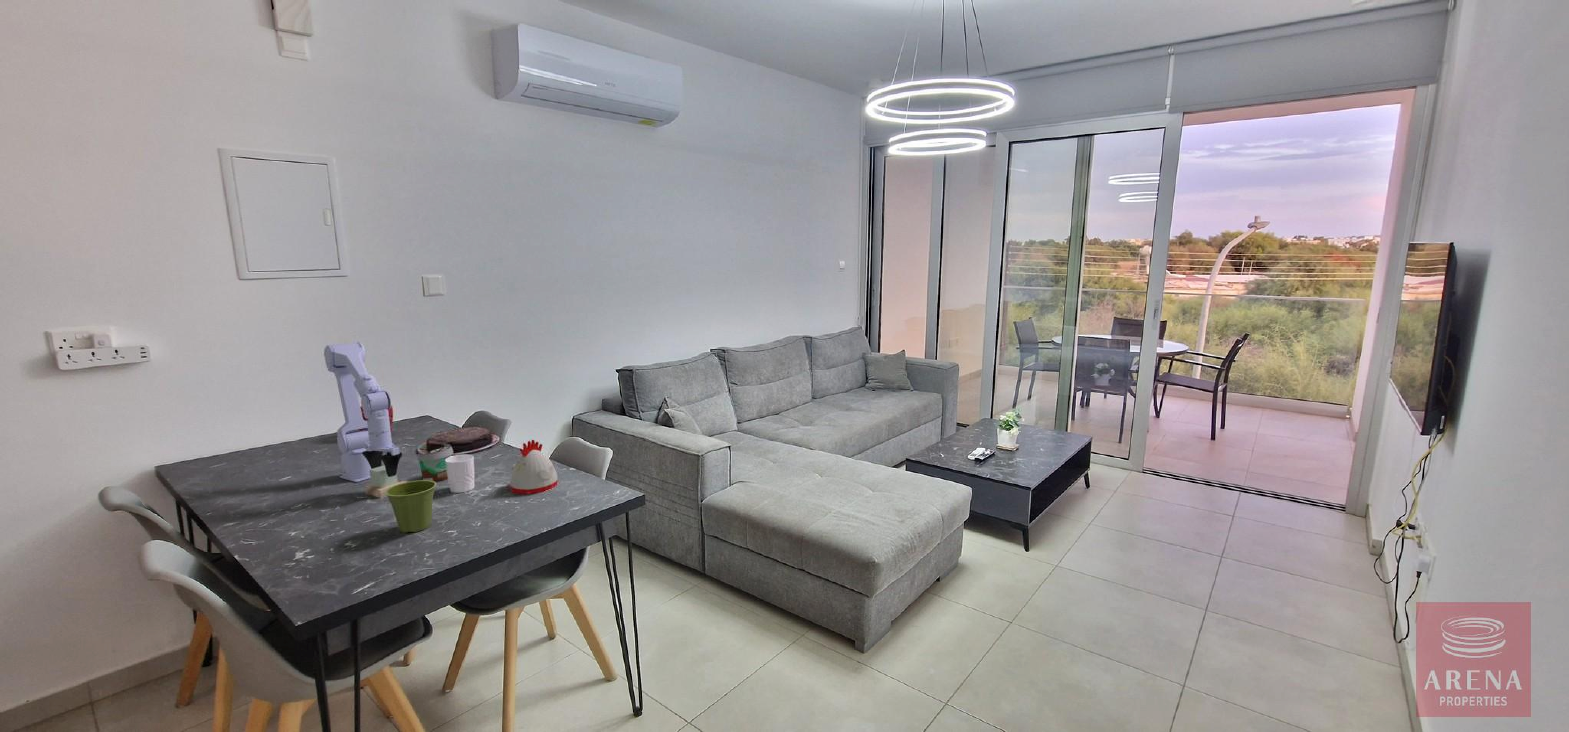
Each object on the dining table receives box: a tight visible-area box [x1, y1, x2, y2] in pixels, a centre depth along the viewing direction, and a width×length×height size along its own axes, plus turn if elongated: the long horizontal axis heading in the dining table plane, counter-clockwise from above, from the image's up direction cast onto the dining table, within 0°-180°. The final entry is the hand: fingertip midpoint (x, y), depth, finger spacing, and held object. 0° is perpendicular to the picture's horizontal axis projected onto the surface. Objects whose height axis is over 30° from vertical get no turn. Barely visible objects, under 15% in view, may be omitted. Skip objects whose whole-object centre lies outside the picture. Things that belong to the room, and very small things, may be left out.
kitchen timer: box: [509, 439, 559, 495], centre depth 195 cm, size 14×14×15 cm
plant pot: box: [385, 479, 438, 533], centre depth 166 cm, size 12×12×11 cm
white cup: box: [445, 454, 476, 494], centre depth 193 cm, size 8×8×10 cm
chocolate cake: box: [417, 426, 500, 456], centre depth 237 cm, size 28×28×7 cm
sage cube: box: [369, 464, 398, 488], centre depth 191 cm, size 5×5×5 cm
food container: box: [417, 444, 453, 483], centre depth 202 cm, size 12×6×10 cm, turn 168°
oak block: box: [364, 478, 407, 499], centre depth 192 cm, size 8×8×3 cm
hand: (384, 473), depth 191 cm, fingers open, 7 cm apart
